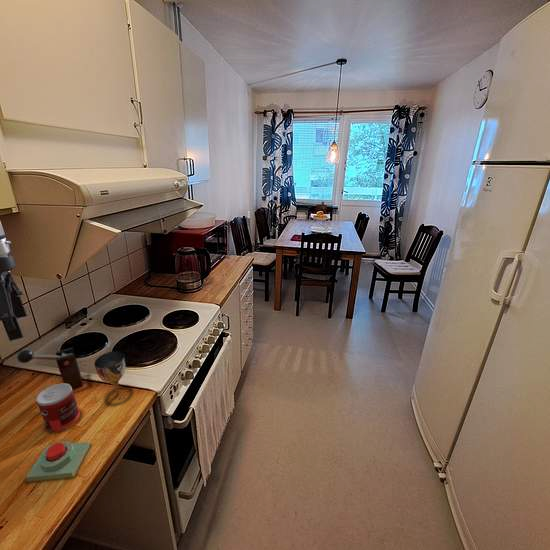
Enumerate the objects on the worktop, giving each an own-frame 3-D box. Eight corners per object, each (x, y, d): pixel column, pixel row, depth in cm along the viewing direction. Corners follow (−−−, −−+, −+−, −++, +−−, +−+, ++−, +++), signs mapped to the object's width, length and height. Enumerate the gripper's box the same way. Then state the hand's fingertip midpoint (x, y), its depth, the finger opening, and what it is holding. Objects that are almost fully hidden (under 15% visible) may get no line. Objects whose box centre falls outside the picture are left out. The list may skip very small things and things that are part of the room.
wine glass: (130, 404, 88) (121, 365, 83) (102, 410, 86) (90, 370, 81) (134, 386, 95) (126, 349, 90) (108, 391, 93) (98, 353, 88)
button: (44, 462, 68) (42, 457, 67) (53, 448, 71) (51, 443, 70) (60, 460, 68) (58, 455, 67) (69, 447, 71) (67, 442, 71)
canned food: (52, 415, 84) (41, 386, 80) (83, 408, 87) (74, 380, 83) (43, 437, 77) (30, 407, 73) (77, 429, 80) (67, 399, 76)
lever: (14, 365, 81) (19, 353, 81) (15, 358, 84) (19, 347, 83) (69, 366, 90) (73, 356, 90) (69, 360, 92) (72, 350, 92)
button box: (28, 483, 67) (22, 472, 65) (49, 451, 74) (44, 440, 72) (73, 478, 68) (69, 467, 66) (90, 447, 75) (86, 436, 74)
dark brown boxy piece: (61, 399, 90) (48, 364, 85) (60, 386, 95) (48, 352, 90) (90, 388, 94) (80, 354, 89) (88, 376, 99) (78, 343, 94)
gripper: (5, 267, 65) (33, 344, 73) (16, 242, 84) (37, 306, 92) (-41, 273, 61) (-6, 354, 69) (-19, 246, 80) (6, 312, 88)
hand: (19, 327), depth 81 cm, fingers open, 13 cm apart
